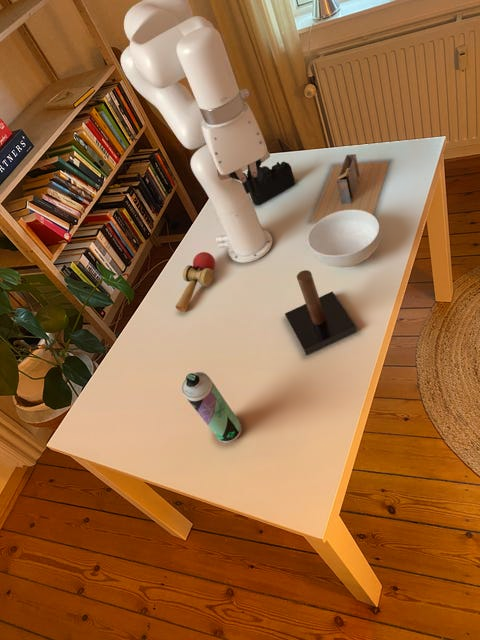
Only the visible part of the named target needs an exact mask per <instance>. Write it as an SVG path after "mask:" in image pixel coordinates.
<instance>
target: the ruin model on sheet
mask: <svg viewBox="0 0 480 640" xmlns="http://www.w3.org/2000/svg"><path fill="white" fill-rule="evenodd" d="M390 162H391V161H390V160H386V161H374V162H373V161H372V162H360V163H358V157H357V153H353V154H346V155H345V158H344V160H343V163H342V164H335V165H333V166H332V168H331V171H330V174H329V176H328V178H327V180H326V184H325V186H324V188H323V191H322V193H321V196H320V199H319V201H318V203H317V206H316V208H315V211H314V213H313V217H312V219H311V222H318V221H320V220H321V219H322V218H324V217H326V216H328V215H330V214H332V213H335V212H339V211H343V210H362V211H366V212H369V213H370V214H372V215H373V216H375V211H376V208H377V205H378V201H379V198H380V195H381V191H382V188H383V185H384V181H385V179H386V175H387V172H388V169H389V165H390Z"/></svg>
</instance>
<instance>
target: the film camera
mask: <svg viewBox="0 0 480 640" xmlns="http://www.w3.org/2000/svg"><path fill="white" fill-rule="evenodd" d="M257 173H258V175H257V179H258V182H259V184H260V188H258V191H259V193H260V195H258V196H257V195H256V194H255V195H256V196H255V197H253V198H252V196H251V194H250V193H249V195H250V198H251V201H252V203H253V205H254V206H261V205H263V204H264V203H266V202H268V201H270V200H271V199H274V198H275V197H277V196H279V195H281V194H282V193H284V192H285V191H287V190H289V189H290V188H292V187H293V186H294V185H295V183H296V182H295V181H296V180H295V179H296V178H295V176H294V173H293V169H292V166H291V165H290V163H288V162H286V161H282V162H279V161H277V162H276V164H274V165H272V166H271V168H270V167H269V166H267V165H264V166H263V165H262V166H260V168H259V170H258V172H257Z"/></svg>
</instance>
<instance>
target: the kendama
mask: <svg viewBox="0 0 480 640" xmlns="http://www.w3.org/2000/svg"><path fill="white" fill-rule="evenodd" d="M215 268H216V260H215V258H214V256H213V255H212V254H211V253H210V252H207V251H202V252H199V253H197V254H196V255H195V256H194V258H193V260H192V265H190V264H189V265H186V266H185V267H184V269H183V272H182V278H183V280H184V281H185V282H187V283H189V284H188V285H187V287H186V288H185V289H184V291H183V293H182V295H181V296H180V298H179V300H178V301H177V303H176V305H175V308H176V310H177V311H179V312H182V313H186V312H187V310H188V307H189V305H190V303H191V300H192V297H193V295H194V292H195V290H196V286H197V283H198V282H200V285H201V286H202V287H209V286H210V285H211V283H212V281H213V277H214V273H213V271H214V270H215Z"/></svg>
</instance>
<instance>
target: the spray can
mask: <svg viewBox="0 0 480 640" xmlns="http://www.w3.org/2000/svg"><path fill="white" fill-rule="evenodd" d="M181 391H182V394H183V395H184V397H185V398H186V400H187V401H188V403H189V404H190V405H191V406H192V407H193V408H194V410H195V412H197V414H198V415H199V416H200V418H201V419H202V420H203V421H204V422H205V424H206V425H207V427H208V428H209V429H210V430H211V432H212V433H213V434H214V436H215V437H216V438H217V439H218V440H219V441H220V442H221V443H225V444H228V443H233V442H234V441H236V440H237V439H239V437H240V435H241V432H242V429H243V428H242V427H243V426H242V424H241V422H240V420H239V418H238V417H237V416H236V414H235V413H234V411H233V410H232V408H231V407H230V405H229V404H228V402H227V401H226V399H225V398H224V396H223V395H222V394H221V392H220V390H219V389H218V387H217V386H216V385H215V383H214V382H213V380H212V379H211V377H210V376H209V375H208V374H207V373H205V372H202V371H197V372H191V373H188V374H187V375H186V377H185V379H184V380H183V382H182V385H181Z"/></svg>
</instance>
